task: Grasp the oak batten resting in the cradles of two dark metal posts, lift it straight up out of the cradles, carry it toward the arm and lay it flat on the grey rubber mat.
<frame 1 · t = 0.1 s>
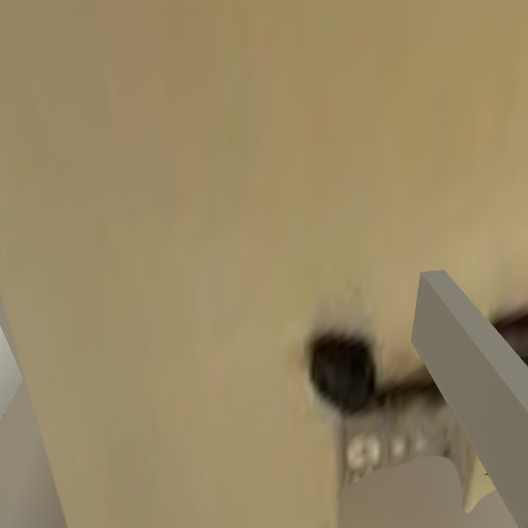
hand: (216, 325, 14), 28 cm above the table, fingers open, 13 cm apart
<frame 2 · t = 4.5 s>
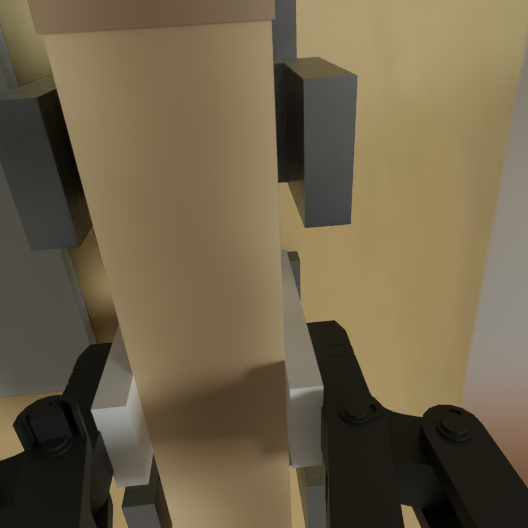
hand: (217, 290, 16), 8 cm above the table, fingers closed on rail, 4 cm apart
rail: (216, 321, 14), point 10 cm above the table, touching gripper, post, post
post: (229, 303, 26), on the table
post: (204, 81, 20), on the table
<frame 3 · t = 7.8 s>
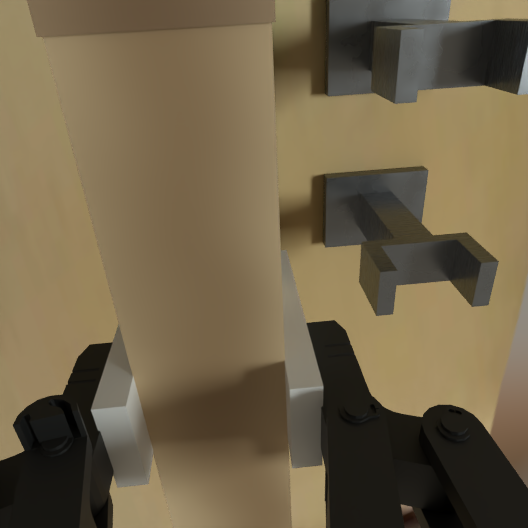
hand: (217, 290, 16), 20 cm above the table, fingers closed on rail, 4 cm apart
rail: (216, 323, 14), point 22 cm above the table, touching gripper
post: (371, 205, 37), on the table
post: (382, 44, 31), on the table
when the fingers open (2 cm above the table, at t = 11.1 s): rail drops 3 cm, resting on mat.
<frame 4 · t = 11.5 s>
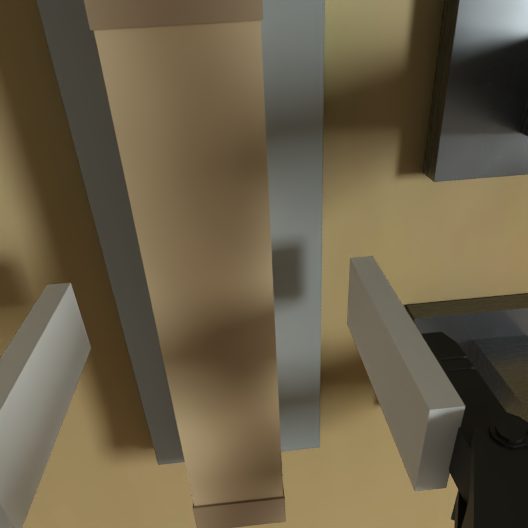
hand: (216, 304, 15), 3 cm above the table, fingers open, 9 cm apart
mat: (217, 261, 18), on the table
rail: (218, 275, 17), point 1 cm above the table, touching mat
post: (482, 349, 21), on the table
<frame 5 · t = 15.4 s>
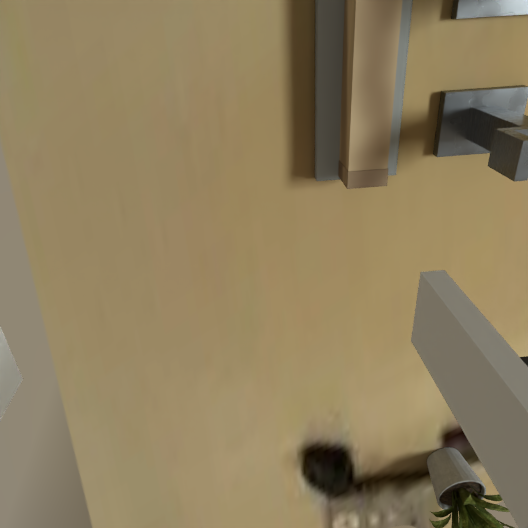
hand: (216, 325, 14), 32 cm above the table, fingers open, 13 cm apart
house plant: (434, 461, 70), on the table
mat: (359, 62, 40), on the table
rail: (362, 63, 40), point 1 cm above the table, touching mat
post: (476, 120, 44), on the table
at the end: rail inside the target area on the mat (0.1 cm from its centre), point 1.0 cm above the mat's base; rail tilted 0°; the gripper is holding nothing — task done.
